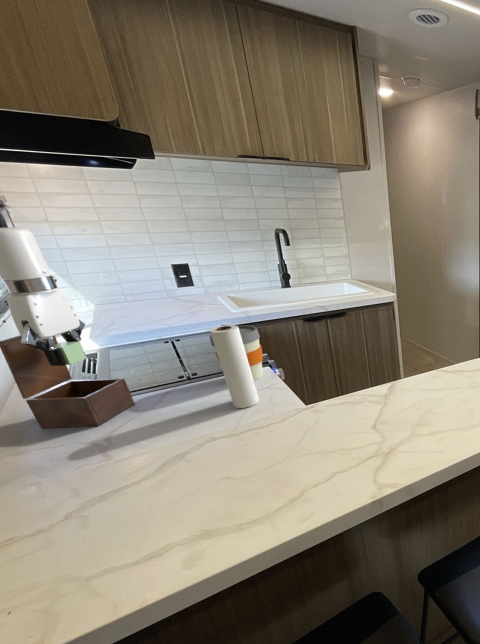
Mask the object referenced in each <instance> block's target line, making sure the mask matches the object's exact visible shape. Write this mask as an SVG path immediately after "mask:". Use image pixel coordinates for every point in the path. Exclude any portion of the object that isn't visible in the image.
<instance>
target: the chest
mask: <svg viewBox="0 0 480 644" xmlns="http://www.w3.org/2000/svg"><path fill="white" fill-rule="evenodd" d="M25 402H26V403H27V406H28V407H29V409H30V410H31V412H32V414H33V416H34V418H35V420H36V422H37V423H38V425H39V427H40V429H63V428H65V429H66V428H67V429H68V428H91V427H92V428H93V427H100V426H102V425H103V424H105V423H107V422H108V421H110V420H112V419H113V418H115V417H116V416H118V415H120V414H122V413H123V412H126V411H127V410H128V409H130V408H132V407H133V406H135V405H136V403H135V400H134V398H133V396H132V393H131V392H130V389H129V386H128V384H127V381H126V380H125V378H106V379H105V378H98V379H97V378H96V379H70V380H68V381H65V382H63V383H61V384H59V385H56V386H54V387H52V388H49V389H47V390H45V391H43V392H40V393H38V394H36V395H34V396H31V397H29V398H27V399H25Z"/></svg>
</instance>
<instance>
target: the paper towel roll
mask: <svg viewBox="0 0 480 644" xmlns="http://www.w3.org/2000/svg"><path fill="white" fill-rule="evenodd" d="M238 326H239V325H234V324H221V325H220V326H217V327H214V328H212V329H210V330H209V332H210V333H211V335H212V338H213V342H214V345H215V348H216V351H217V354H218V357H219V360H218V362H219V361H220V362H219V364H221V365H220V367H221V369H222V374H223V376H224V379H225V383H226V386H227V389H228V391H229V394H230V398H231V401H232V402H231V403H232V405H233V407H234V408H237V409H244V408H245V409H246V408H250V407H253V406H256V405H257V404H258V403H259V402H260V398H259V394H258V391H257V387H256V383H255V381H254V380H253V377H252V373H251V370H250V366H249V363H248V359H247V356H246V352H245V349H244V345H243V342H242V338H241V335H240V331H239V328H238ZM216 351H215V352H216Z"/></svg>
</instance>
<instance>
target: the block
mask: <svg viewBox="0 0 480 644" xmlns="http://www.w3.org/2000/svg"><path fill="white" fill-rule="evenodd" d="M55 346H56V349H59V350H60V351H61V353H62V355H63V357H64V359H65V362H66V365H67V366H71V365H74V364H76V363H79V362H80V361H84V360H86V359H87V358H88V356H87V355H86V352H85V350H84V348H83V346H82V344H81V341H79V342H67V341H59V342H58V343H57V344H55ZM81 346H82V347H81ZM82 348H83V349H82ZM83 350H84V351H83Z"/></svg>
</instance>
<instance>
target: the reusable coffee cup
mask: <svg viewBox="0 0 480 644" xmlns="http://www.w3.org/2000/svg"><path fill="white" fill-rule="evenodd" d="M237 326H238V328H239V331H240V335H241V338H242V342H243V345H244V349H245V352H246V356H247V359H248V363H249V366H250V370H251V373H252V377H253V380H254V382H255V381H257V380H259V379H261V378H262V377H264V370H263V369H264V368H263V360H264V358H263V348H262V344H260V338H261V335H260V334H259V330H258V328H257V327H256V326H254V325H237ZM208 336H209V341H210V345H211V346H212V347H213V348H214V351H215V353H214V355H215V356H216V359H217V361H218V363H219V364H220V361H219V357H218V354H217V351H216V348H215V345H214V342H213V338H212V335H211V332H210V333H209V335H208ZM220 366H221V364H220Z"/></svg>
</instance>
